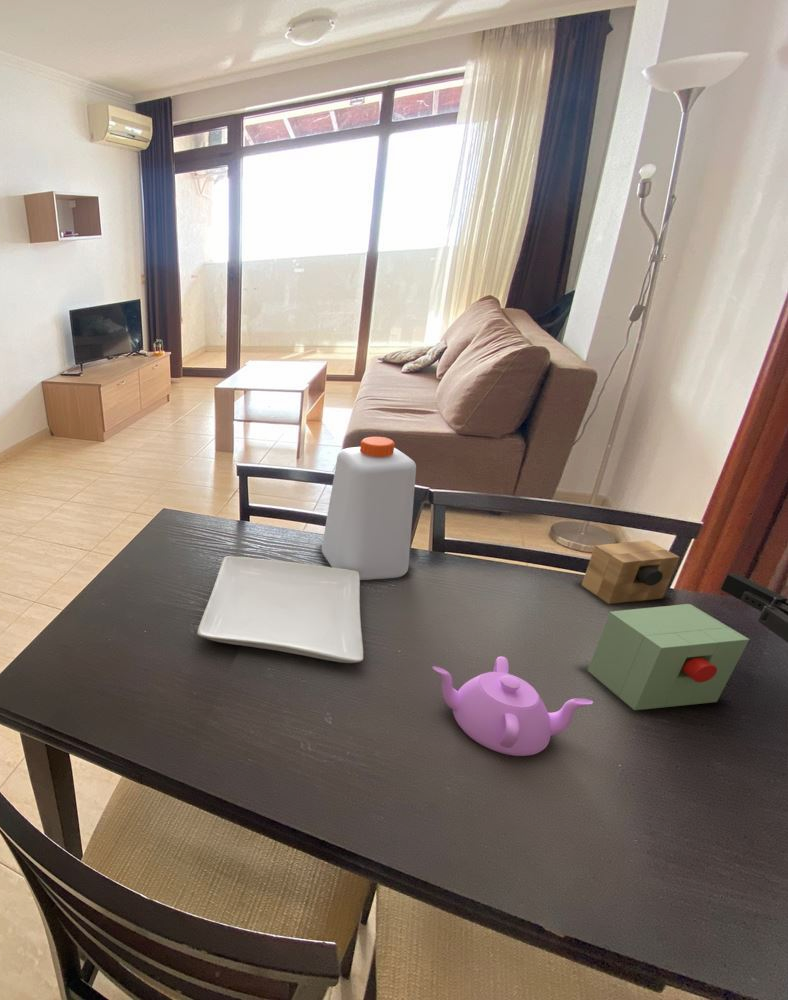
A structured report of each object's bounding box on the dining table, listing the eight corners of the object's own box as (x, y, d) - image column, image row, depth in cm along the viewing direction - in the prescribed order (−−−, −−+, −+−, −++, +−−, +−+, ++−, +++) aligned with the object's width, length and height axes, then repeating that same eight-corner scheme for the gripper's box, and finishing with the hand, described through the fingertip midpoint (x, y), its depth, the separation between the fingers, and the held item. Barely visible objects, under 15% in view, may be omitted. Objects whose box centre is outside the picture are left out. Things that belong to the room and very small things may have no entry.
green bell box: (632, 713, 77) (661, 648, 72) (586, 673, 84) (609, 611, 79) (715, 705, 77) (749, 639, 72) (661, 666, 84) (689, 603, 79)
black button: (642, 586, 94) (648, 572, 93) (634, 581, 96) (640, 567, 94) (659, 584, 94) (665, 570, 93) (651, 579, 96) (656, 565, 94)
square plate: (224, 568, 119) (224, 553, 117) (358, 585, 110) (360, 569, 108) (196, 648, 96) (195, 631, 95) (361, 678, 87) (364, 659, 85)
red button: (690, 683, 73) (698, 666, 71) (678, 675, 74) (686, 658, 73) (712, 681, 73) (721, 664, 71) (700, 673, 74) (708, 656, 73)
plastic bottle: (340, 585, 110) (354, 457, 98) (315, 548, 124) (325, 432, 112) (415, 579, 110) (438, 450, 98) (381, 543, 123) (398, 426, 111)
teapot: (575, 749, 72) (594, 701, 69) (489, 777, 70) (504, 728, 66) (499, 687, 83) (512, 642, 79) (422, 709, 80) (431, 663, 77)
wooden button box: (607, 606, 97) (623, 562, 93) (580, 588, 103) (594, 545, 99) (661, 601, 98) (680, 556, 94) (631, 583, 103) (648, 540, 99)
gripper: (880, 727, 62) (678, 605, 83) (989, 716, 62) (760, 597, 84) (915, 677, 59) (696, 564, 80) (1031, 666, 59) (781, 556, 80)
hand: (729, 581), depth 82 cm, fingers closed
